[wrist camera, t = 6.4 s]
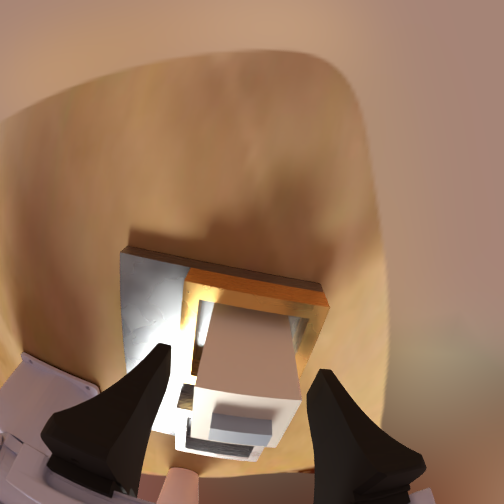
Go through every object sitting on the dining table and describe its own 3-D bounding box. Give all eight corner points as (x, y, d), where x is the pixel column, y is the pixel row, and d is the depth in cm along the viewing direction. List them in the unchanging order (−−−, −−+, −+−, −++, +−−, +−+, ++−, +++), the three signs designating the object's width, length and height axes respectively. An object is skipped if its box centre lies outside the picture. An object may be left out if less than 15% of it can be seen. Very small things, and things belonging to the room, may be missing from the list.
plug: (206, 355, 16) (187, 450, 10) (214, 302, 15) (190, 403, 8) (271, 366, 16) (276, 460, 10) (288, 314, 15) (304, 416, 9)
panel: (138, 417, 21) (131, 437, 18) (127, 245, 15) (107, 263, 12) (256, 440, 21) (256, 461, 19) (319, 283, 15) (330, 307, 13)
